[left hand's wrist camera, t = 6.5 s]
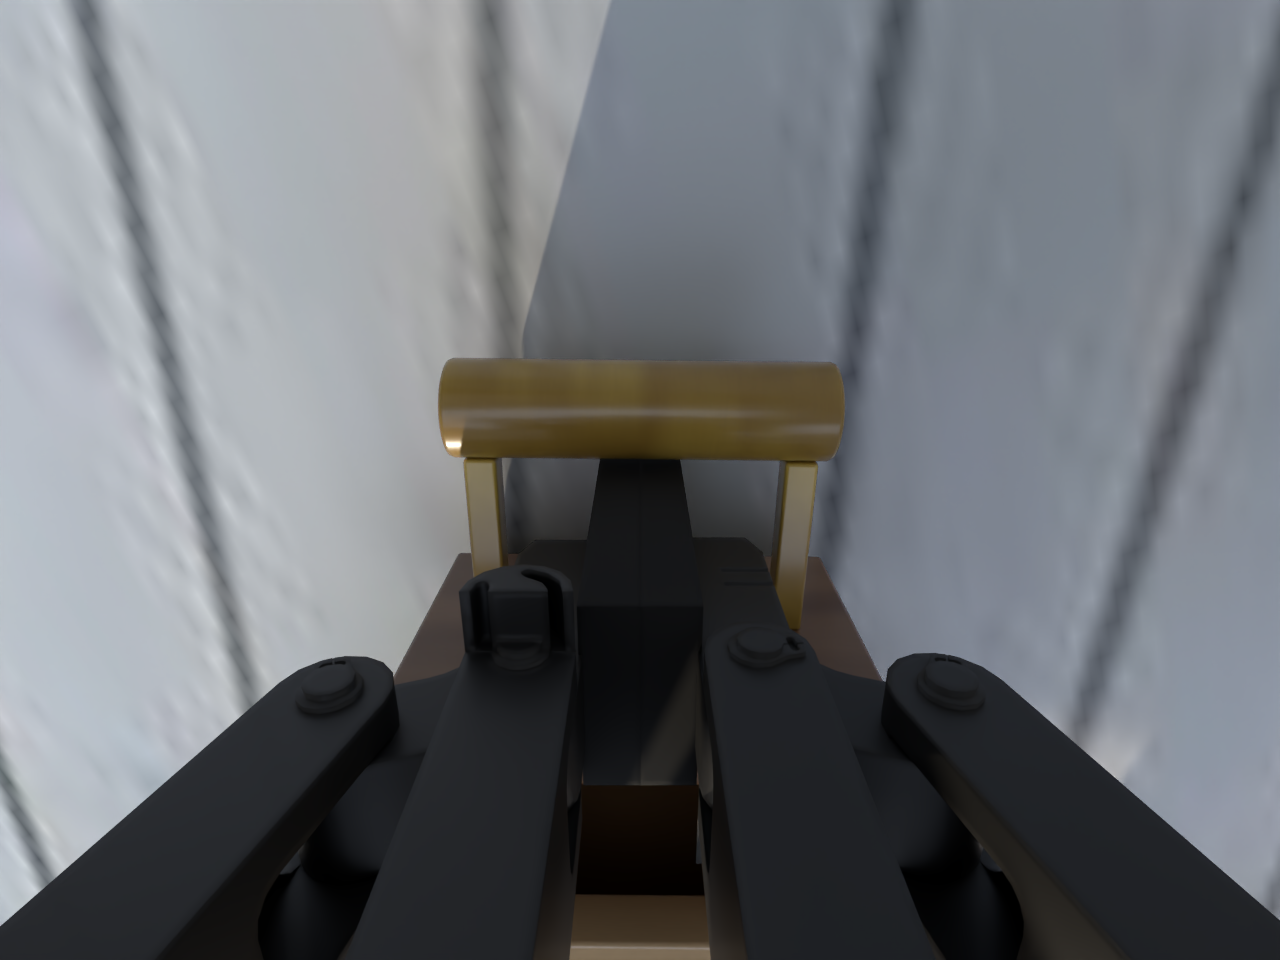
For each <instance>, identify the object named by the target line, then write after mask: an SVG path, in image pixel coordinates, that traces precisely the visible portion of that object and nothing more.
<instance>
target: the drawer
mask: <svg viewBox="0 0 1280 960" xmlns="http://www.w3.org/2000/svg"><path fill="white" fill-rule="evenodd" d="M438 417H439V426H440V432H441V437H442V440H443V444H444V446H445V449H446V451H447V452H448V454H449V455H451V456H453V457H466V458H465V460H464V462H463V464H464V475H465V487H466V498H467V509H468V521H469V532H470V544H471V553H461V554H458V556H457V558H456V560H455V562H454V564H453V566H452V568H451V569H450V571H449V573H448V575H447V577H446V579H445V581H444V583H443V585H442V587H441V588H440V590H439V592H438V594H437V596H436V598H435V600H434V602H433V604H432V605H431V607H430V609H429V611H428V613H427V615H426V617H425V619H424V621H423V622H422V624H421V626H420V628H419V630H418V632H417V634H416V636H415V638H414V639H413V641H412V643H411V645H410V647H409V649H408V651H407V653H406V655H405V656H404V658H403V660H402V662H401V664H400V666H399V668H398V670H397V672H396V673H395V675H394V677H393V678H394V684H395V685H397V684H401V683H406V682H411V681H416V680H421V679H426V678H430V677H433V676H437V675H441V674H444V673H447V672H449V671H451V670H454V669H456V668H458V667H459V666H460V664H461V661H462V659H463V656H464V654H465V646H464V637H463V628H462V618H461V609H460V600H459V591H460V589H461V588H462V587H463V586H464V585H465V584H466V582H467V581H468V580H470V579H472V578H474V577H476V576H477V575H479V574H481V573H483V572H485V571H489V570H492V569H496V568H499V567H503V566H512V565H514V564H515V561H516V559H517V556H518V554H508V547H507V532H506V517H505V502H504V487H503V472H502V458H572V459H665V460H759V461H780V466H779V477H778V488H777V500H776V511H775V522H774V533H773V545H772V556H764V558H765V561H766V564H767V567H768V572H770V575H771V578H772V581H773V586H775V589H776V592H777V595H778V597H779V600H780V603H781V606H782V609H783V611H784V614H785V617H786V620H787V623H788V625H789V628H790V629H791V630H793V631H794V632H796V633H798V634H799V635H801V636H802V637H804V638H805V639H806V640H807V641H808V642H809V644H810V645H811V646H812V648H813V649H814V651H815V653H816V655H817V658H818V660H819V663H820V664H822V665H824V666H826V667H829V668H831V669H833V670H836V671H839V672H843V673H847V674H850V675H854V676H859V677H864V678H869V679H874V680H879V681H882V679H881V677H880V675H879V673H878V671H877V669H876V667H875V665H874V663H873V661H872V659H871V657H870V655H869V653H868V651H867V649H866V647H865V645H864V643H863V641H862V639H861V637H860V635H859V633H858V631H857V629H856V627H855V626H854V624H853V622H852V620H851V618H850V616H849V614H848V612H847V610H846V608H845V606H844V604H843V602H842V600H841V598H840V596H839V594H838V592H837V590H836V588H835V586H834V584H833V582H832V580H831V578H830V576H829V574H828V572H827V571H826V569H825V567H824V565H823V563H822V561H821V559H820V558H819V557H808V553H809V544H810V535H811V526H812V517H813V508H814V499H815V490H816V481H817V472H818V465H817V463H816V461H828V460H831V459H832V458H834V456H835V455H836V453H837V451H838V448H839V445H840V442H841V438H842V433H843V427H844V418H845V394H844V386H843V381H842V376H841V373H840V370H839V368H838V367H837V365H836V364H834V363H831V362H779V361H688V360H596V359H504V358H452V359H450V360H448V361H447V362H446V364H445V365H444V368H443V371H442V374H441V378H440V384H439V393H438ZM581 799H582V827H581V838H580V849H579V860H578V871H577V882H576V893H575V894H595V895H698V896H705V892H704V881H703V870H702V864H696V850H697V825H698V799H699V780H698V770H697V785H583V774H582V784H581Z"/></svg>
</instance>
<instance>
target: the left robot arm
mask: <svg viewBox="0 0 1280 960" xmlns="http://www.w3.org/2000/svg"><path fill="white" fill-rule="evenodd" d="M459 600H460V609H461V618H462V628H463V637H464V646H465V654H464V656H463V659H462V661H461V664H460V666H459V667H458V668H456V669H454V670H451V671H449V672H447V673H444V674H441V675H437V676H433V677H430V678H426V679H421V680H416V681H411V682H406V683H401V684H397V685H395V684H394V678H393V672H392V671H391V670H390V669H389V668H388V667H387V666H386V665H385V664H384V663H383V662H381V661H378V660H375V659H372V658H369V657H355V656H344V657H337V658H333V659H332V658H331V659H327V660H323V661H320V662H317V663H315V664H312V665H310V666H307V667H305V668H302V669H300V670H298V671H296V672H295V673H293V674H292V675H290V676H289V677H287V678H286V679H284V680H283V681H281V682H280V683H279V684H278V685H276V686H275V687H274V688H273V689H272V690H271V691H269V692H268V693H267V694H266V695H265V696H264V697H263V698H261V699H260V700H259V701H258V702H257V703H256V704H255V705H253V706H252V707H251V708H250V709H249V710H248V711H247V712H245V713H244V714H243V715H242V716H241V717H240V718H239V719H237V720H236V721H235V722H234V723H233V724H232V725H231V726H229V727H228V728H227V729H226V730H225V731H224V732H223V733H221V734H220V735H219V736H218V737H217V738H216V739H214V740H213V741H212V742H211V743H210V744H209V745H208V746H206V747H205V748H204V749H203V750H202V751H201V752H200V753H198V754H197V755H196V756H195V757H194V758H193V759H192V760H190V761H189V762H188V763H187V764H186V765H185V766H184V767H182V768H181V769H180V770H179V771H178V772H177V773H176V774H174V775H173V776H172V777H171V778H170V779H169V780H167V781H166V782H165V783H164V784H163V785H162V786H161V787H159V788H158V789H157V790H156V791H155V792H154V793H153V794H151V795H150V796H149V797H148V798H147V799H146V800H145V801H143V802H142V803H141V804H140V805H139V806H138V807H137V808H135V809H134V810H133V811H132V812H131V813H130V814H129V815H127V816H126V817H125V818H124V819H123V820H122V821H121V822H119V823H118V824H117V825H116V826H115V827H114V828H112V829H111V830H110V831H109V832H108V833H107V834H106V835H104V836H103V837H102V838H101V839H100V840H99V841H98V842H96V843H95V844H94V845H93V846H92V847H91V848H90V849H88V850H87V851H86V852H85V853H84V854H83V855H82V856H80V857H79V858H78V859H77V860H76V861H75V862H74V863H72V864H71V865H70V866H69V867H68V868H67V869H66V870H64V871H63V872H62V873H61V874H60V875H59V876H57V877H56V878H55V879H54V880H53V881H52V882H51V883H49V884H48V885H47V886H46V887H45V888H44V889H43V890H41V891H40V892H39V893H38V894H37V895H36V896H35V897H33V898H32V899H31V900H30V901H29V902H28V903H27V904H25V905H24V906H23V907H22V908H21V909H20V910H19V911H17V912H16V913H15V914H14V915H13V916H12V917H11V918H9V919H8V920H7V921H6V922H5V923H4V924H2V925H1V926H0V960H569V959H570V948H571V937H572V926H573V915H574V904H575V893H576V882H577V871H578V860H579V849H580V838H581V827H582V799H581V784H582V774H583V785H697V770H698V780H699V799H698V825H697V850H696V864H702V870H703V881H704V892H705V903H706V914H707V925H708V936H709V947H710V957H711V960H1280V920H1279V919H1277V918H1276V917H1275V916H1274V915H1273V914H1272V913H1271V912H1269V911H1268V910H1267V909H1266V908H1265V907H1264V906H1262V905H1261V904H1260V903H1259V902H1258V901H1257V900H1255V899H1254V898H1253V897H1252V896H1251V895H1250V894H1249V893H1247V892H1246V891H1245V890H1244V889H1243V888H1242V887H1240V886H1239V885H1238V884H1237V883H1236V882H1235V881H1234V880H1232V879H1231V878H1230V877H1229V876H1228V875H1227V874H1225V873H1224V872H1223V871H1222V870H1221V869H1220V868H1219V867H1217V866H1216V865H1215V864H1214V863H1213V862H1212V861H1210V860H1209V859H1208V858H1207V857H1206V856H1205V855H1203V854H1202V853H1201V852H1200V851H1199V850H1198V849H1197V848H1195V847H1194V846H1193V845H1192V844H1191V843H1190V842H1188V841H1187V840H1186V839H1185V838H1184V837H1183V836H1182V835H1180V834H1179V833H1178V832H1177V831H1176V830H1175V829H1173V828H1172V827H1171V826H1170V825H1169V824H1168V823H1167V822H1165V821H1164V820H1163V819H1162V818H1161V817H1160V816H1158V815H1157V814H1156V813H1155V812H1154V811H1153V810H1152V809H1150V808H1149V807H1148V806H1147V805H1146V804H1145V803H1143V802H1142V801H1141V800H1140V799H1139V798H1138V797H1136V796H1135V795H1134V794H1133V793H1132V792H1131V791H1130V790H1128V789H1127V788H1126V787H1125V786H1124V785H1123V784H1121V783H1120V782H1119V781H1118V780H1117V779H1116V778H1115V777H1113V776H1112V775H1111V774H1110V773H1109V772H1108V771H1106V770H1105V769H1104V768H1103V767H1102V766H1101V765H1100V764H1098V763H1097V762H1096V761H1095V760H1094V759H1093V758H1091V757H1090V756H1089V755H1088V754H1087V753H1086V752H1084V751H1083V750H1082V749H1081V748H1080V747H1079V746H1078V745H1076V744H1075V743H1074V742H1073V741H1072V740H1071V739H1069V738H1068V737H1067V736H1066V735H1065V734H1064V733H1063V732H1061V731H1060V730H1059V729H1058V728H1057V727H1056V726H1054V725H1053V724H1052V723H1051V722H1050V721H1049V720H1048V719H1046V718H1045V717H1044V716H1043V715H1042V714H1041V713H1039V712H1038V711H1037V710H1036V709H1035V708H1034V707H1032V706H1031V705H1030V704H1029V703H1028V702H1027V701H1026V700H1024V699H1023V698H1022V697H1021V696H1020V695H1019V694H1017V693H1016V692H1015V691H1014V690H1013V689H1012V688H1011V687H1009V686H1008V685H1007V684H1006V683H1005V682H1004V681H1002V680H1001V679H1000V678H998V677H997V676H995V675H994V674H992V673H991V672H989V671H988V670H986V669H985V668H983V667H981V666H979V665H976V664H974V663H971V662H969V661H966V660H964V659H961V658H959V657H955V656H951V655H945V654H937V653H921V654H912V655H909V656H905V657H902V658H899V659H897V660H896V661H895V662H894V663H893V664H892V665H891V666H890V667H889V669H888V672H887V678H886V682H884V681H879V680H874V679H869V678H864V677H859V676H854V675H850V674H847V673H843V672H839V671H836V670H833V669H831V668H829V667H826V666H824V665H822V664H820V663H819V660H818V658H817V655H816V653H815V651H814V649H813V648H812V646H811V645H810V644H809V642H808V641H807V640H806V639H805V638H804V637H802V636H801V635H799V634H798V633H796V632H794V631H793V630H791V629H790V628H789V625H788V623H787V620H786V617H785V614H784V611H783V609H782V606H781V603H780V600H779V597H778V595H777V592H776V589H775V586H773V581H772V578H771V575H770V572H768V567H767V564H766V561H765V558H764V556H763V553H762V551H760V550H759V549H758V548H757V547H755V546H754V545H753V544H752V543H751V542H749V541H748V540H747V539H746V538H692V532H691V526H690V519H689V513H688V507H687V501H686V494H685V488H684V482H683V476H682V470H681V463H680V460H665V459H600V464H599V470H598V476H597V482H596V489H595V495H594V501H593V507H592V514H591V520H590V526H589V532H588V538H587V540H535V541H534V542H532V543H531V544H530V545H529V546H528V547H526V548H525V549H524V550H523V551H521V552H520V553H519V554H518V556H517V559H516V561H515V564H514V565H512V566H503V567H499V568H496V569H492V570H489V571H485V572H483V573H481V574H479V575H477V576H476V577H474V578H472V579H470V580H468V581H467V582H466V584H465V585H464V586H463V587H462V588H461V589H460V591H459Z"/></svg>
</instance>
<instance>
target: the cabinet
mask: <svg viewBox="0 0 1280 960" xmlns="http://www.w3.org/2000/svg"><path fill="white" fill-rule="evenodd" d="M569 960H711V957H710V947H709V936H708V925H707V914H706V903H705V896H698V895H595V894H575V904H574V915H573V926H572V937H571V948H570V959H569Z"/></svg>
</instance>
